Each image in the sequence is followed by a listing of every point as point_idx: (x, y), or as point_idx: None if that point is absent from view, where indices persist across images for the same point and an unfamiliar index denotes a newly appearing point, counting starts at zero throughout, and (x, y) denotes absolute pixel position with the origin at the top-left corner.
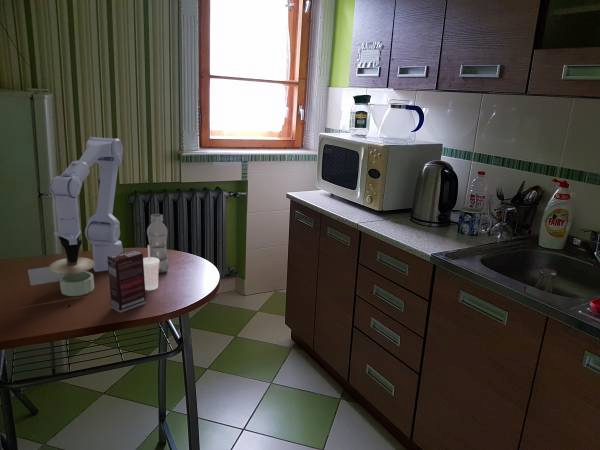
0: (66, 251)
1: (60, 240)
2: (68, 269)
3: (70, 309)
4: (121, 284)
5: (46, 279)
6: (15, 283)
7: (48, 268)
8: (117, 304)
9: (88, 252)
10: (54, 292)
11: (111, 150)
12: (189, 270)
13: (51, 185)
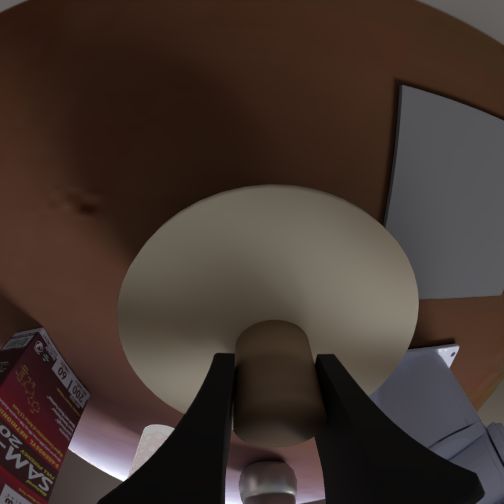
0: (163, 443)
1: (395, 500)
2: (164, 312)
3: (56, 208)
4: None
5: (435, 167)
6: (460, 51)
7: None
8: (8, 346)
9: None
10: (271, 166)
11: None
12: (237, 492)
13: None
